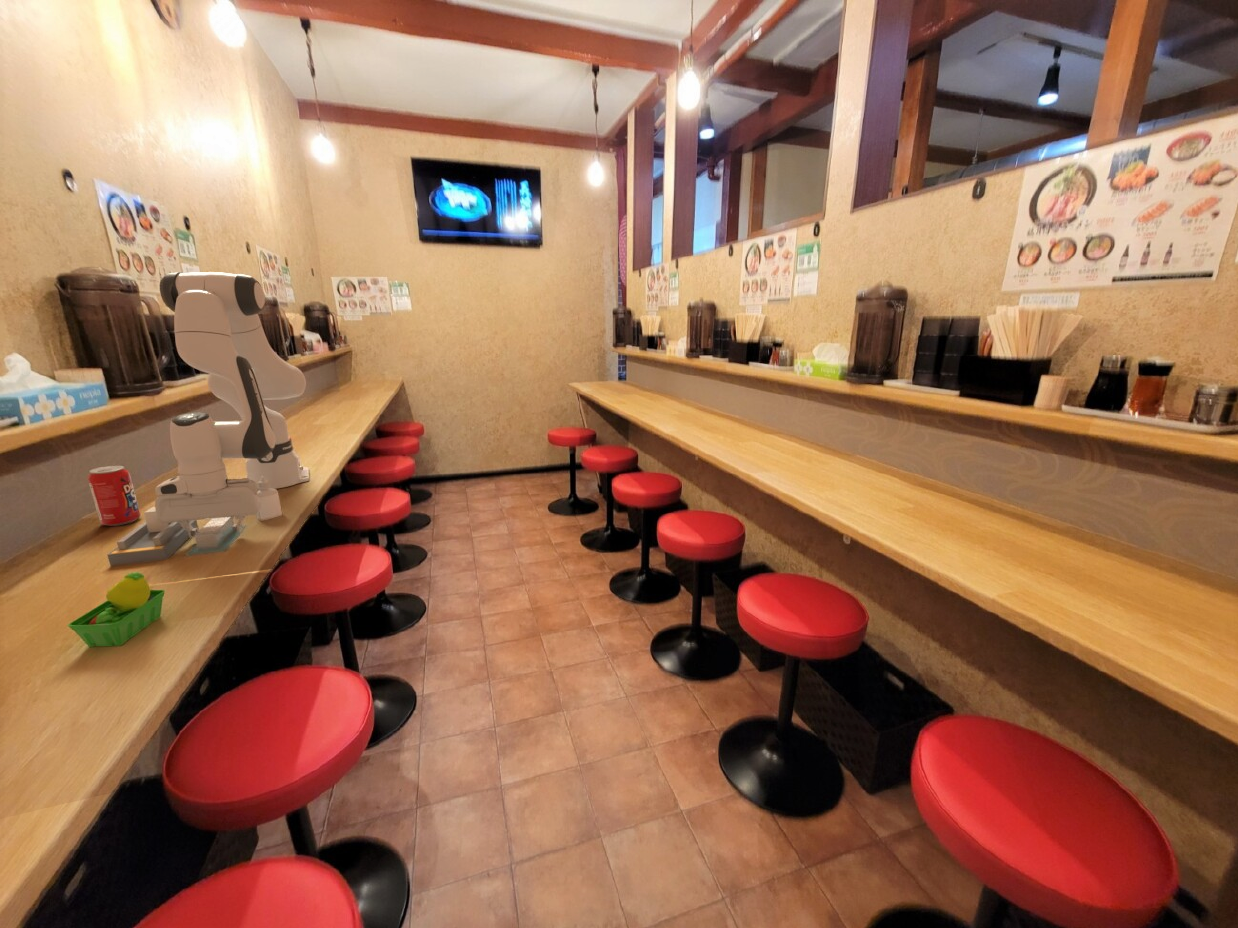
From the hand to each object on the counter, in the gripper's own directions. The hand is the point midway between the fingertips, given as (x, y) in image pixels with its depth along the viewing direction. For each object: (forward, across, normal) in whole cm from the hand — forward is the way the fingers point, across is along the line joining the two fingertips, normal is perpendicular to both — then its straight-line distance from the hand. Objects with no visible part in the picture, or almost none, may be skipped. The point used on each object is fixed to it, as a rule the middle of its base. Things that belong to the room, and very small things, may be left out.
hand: (216, 533), depth 125 cm
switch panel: (+2, +12, 0) cm, 12 cm away
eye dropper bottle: (+2, -8, -13) cm, 15 cm away
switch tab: (-1, +12, -4) cm, 13 cm away
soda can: (+2, +28, -21) cm, 35 cm away
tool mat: (+2, 0, 0) cm, 2 cm away
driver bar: (+2, 0, 0) cm, 2 cm away
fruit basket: (+2, +1, +39) cm, 39 cm away
